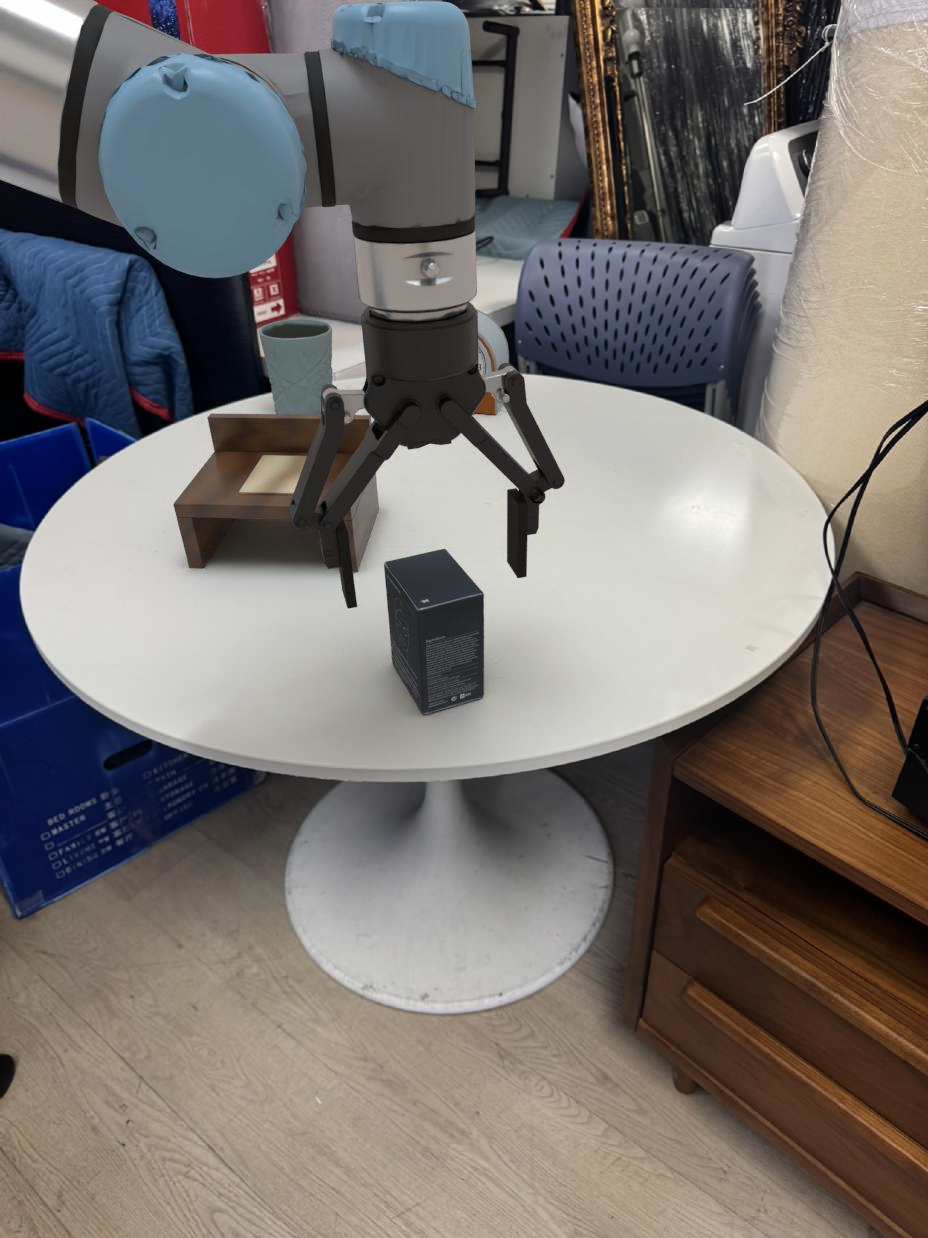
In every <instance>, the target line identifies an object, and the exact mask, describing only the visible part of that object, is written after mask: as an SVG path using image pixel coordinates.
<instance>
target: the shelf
mask: <svg viewBox="0 0 928 1238" xmlns="http://www.w3.org/2000/svg"><path fill="white" fill-rule="evenodd" d="M206 419H207V423H208V427H209V432H210V437H211V441H212V446H213V451H214V452H213V453H212V454H211V455H210V457H209V458H208V459H207V461H205V463H204V464H203V466H202V467H201V468H200V469H199V470H198V472H197V473H196V474H195V476H193V478H192V479H191V481H190V482H189V483H188V484H187V486H186V487H185V488H184V490H183V491H182V492H181V493H180V495H179V496H178V497H177V498H176V500H175V501H174V502H173V509H174V513H175V517H176V521H177V526H178V529H179V532H180V537H181V541H182V545H183V549H184V553H185V557H186V561H187V566H188V568H189V569H193V568H195V569H203V568H205V567H206V565H207V563H208V562H209V560H210V558H211V557H212V555H213V554H214V552H215V550H216V549H217V547H219V544H220V543H221V541H222V539H223V538H224V536H225V535H226V533H227V532H228V530H229V528H230V527H231V525H232V524H233V523H234V521H235V519H252V520H255V519H257V520H258V519H259V520H292V517H291V513H290V508H289V506H290V502H291V499H292V496H293V494H294V491H295V488H296V485H297V483H298V480H299V477H300V474H301V471H302V469H303V466H304V463H305V460H306V458H307V455H308V452H309V449H310V446H311V444H312V441H313V438H314V435H315V433H316V430H317V427H318V424H319V422H320V419H321V415H306V414H277V413H210V414H209V415H208V416H207V418H206ZM371 424H372V417H371V416H370V415H369V414H355V416H354V419H353V421H352V422H351V423H349V424H344V431H343V436H342V439H341V442H340V445H339V448H338V450H337V453H336V456H335V458H334V461H333V464H332V466H331V469H330V471H329V474H328V477H327V479H326V482H325V485H324V487H323V490H322V493H321V495H320V498H319V501H318V503H317V505H318V504H319V503H320V501H321V500H322V498H323V497H324V496H325V494H326V493H327V491H328V490H329V488H330V487H331V486H332V484H333V483H334V481H335V480H336V478H337V477H338V475H339V474H340V473H341V471H342V470H343V468H344V467H345V465H346V464H347V463H348V461H349V460H350V458H351V457H352V455H353V454H354V453H355V451H356V450H357V448H358V447H359V445H360V444H361V443H362V441H363V440H364V437H365V433H366V431H367V430H368V428H369V427H370V425H371ZM379 510H380V503H379V493H378V482H377V472H376V473H375V475H374V476H373V478H372V479H371V480H370V482H369V483H368V485H367V486H366V487H365V489H364V490H363V492H362V493H361V494H360V496H359V497H358V499H357V500H356V501H355V503H354V504H353V506H352V507H351V508H350V510H349V511H348V512H347V514H346V515H345V517H344V518H343V519H344V522H345V525H346V528H347V531H348V537H349V545H350V553H351V561H352V569H353V573H358V571H359V568H360V566H361V562H362V560H363V557H364V554H365V551H366V548H367V546H368V542H369V540H370V536H371V533H372V530H373V527H374V524H375V522H376V519H377V515H378V513H379Z"/></svg>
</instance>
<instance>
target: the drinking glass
mask: <svg viewBox="0 0 928 1238" xmlns="http://www.w3.org/2000/svg"><path fill="white" fill-rule="evenodd" d="M258 335H259V339H260V343H261V344H260V345H261V346H262V347H261V348H262V352H263V357H264V362H265V363H266V364H265V366H266V368H267V375H268V379H269V383H270V384H271V385H270V387H271V394H272V399H273V403H274V404H273V405H274V411H275V414H306V415H321V389H322V388H323V387H324V386H325V385H327V384H332V385H333V377H334V376H333V367H332V359H333V328H332V325H331V324H329V323H328V322H326V321H322V320H316V319H305V318H303V319H302V318H301V319H300V318H298V319H297V318H295V319H285V320H278V321H273V322H270V323H268V324H265V325H263V326H261V327H260V328H259V330H258Z"/></svg>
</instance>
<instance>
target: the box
mask: <svg viewBox="0 0 928 1238" xmlns="http://www.w3.org/2000/svg"><path fill="white" fill-rule="evenodd" d="M383 569H384V570H383V571H384V582H385V592H386V605H387V616H388V627H389V628H388V629H389V639H390V651H391V653H390V654H391V663H392V665H393V666H394V668H395V670H396V672H397V674H398V675H399V677H400V678H401V680H402V682H403V683H404V685H405V686H406V689H407V690H408V692H409V694H410V695H411V697H412V698H413V700H414V701H415V703H416V705H417V706H418V709H419V710H420V711H421V713H422V714H423V715H428V714H431V713H434V712H440V711H443V710H446V709H449V708H452V707H457V706H459V705H463V704H467V703H469V702H474V701H476V700H480V699H482V698H484V695H485V593H484V591H482V590H481V588H480V587H479V585H477V584H476V582H475V581H474V580H473V579H472V578H471V576H469V574H468V573H467V572H466V571H465V569H463V568H462V566H461V565H460V564H459V563H458V562H457V560H456V559H455V558H454V557H453V556H452V555H451V554H450V552H449V551H448V550H447V548H441V549H436V550H432V551H428V552H423V553H418V554H414V555H409V556H404V557H401V558H400V557H399V558H396V559H391V560H388V561H385V562H384V563H383Z"/></svg>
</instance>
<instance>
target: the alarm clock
mask: <svg viewBox="0 0 928 1238" xmlns="http://www.w3.org/2000/svg"><path fill="white" fill-rule="evenodd" d="M476 310H477V312H478V368H479V372H480V374H481V375H482V374H486V373H490V372H494V371H497V370H498V368H499V366H500V365H501V364H503V363H510V351H509V343H508V341H507V337H506V335H505V332H504V330H503V329H502V327H501V326H500V325H499V323H498V322H497V321H496V320H495V319H494V318H493V317H491V316H490V315H489V314H487V313H485V312H484V311H482V310H479V309H477V308H476ZM503 406H504V404H503V403H499V402H497V401H496V399H495V398H494V397H493V396H492V394H491V393H489V392H488V393H485V396H484V398H483V400H482V401H481V403H480V404H479V406H478V408H477V409H476V411H475V412H474V414H483V415H493V416H494V415H497V414H498V412H499V411H500V409H502V407H503Z"/></svg>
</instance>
